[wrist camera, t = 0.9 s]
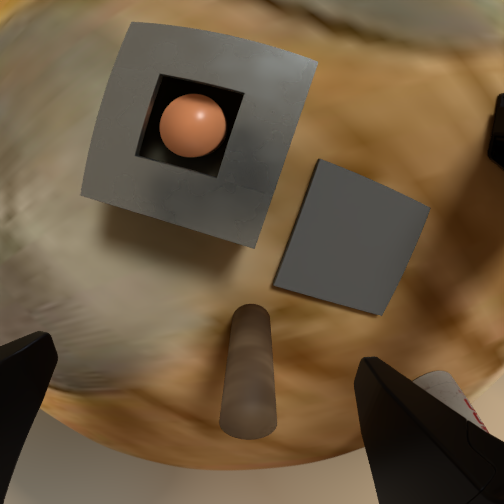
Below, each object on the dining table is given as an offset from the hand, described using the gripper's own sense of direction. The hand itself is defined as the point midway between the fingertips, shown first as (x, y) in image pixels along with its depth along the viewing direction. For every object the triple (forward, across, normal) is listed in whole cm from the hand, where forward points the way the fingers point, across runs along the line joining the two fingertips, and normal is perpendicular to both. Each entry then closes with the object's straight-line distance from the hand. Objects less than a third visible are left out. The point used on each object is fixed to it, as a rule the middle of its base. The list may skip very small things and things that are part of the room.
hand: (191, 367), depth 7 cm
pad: (+14, -9, 0) cm, 16 cm away
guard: (+14, +2, -7) cm, 15 cm away
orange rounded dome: (+12, +2, -7) cm, 13 cm away
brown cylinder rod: (+14, -2, +7) cm, 15 cm away
